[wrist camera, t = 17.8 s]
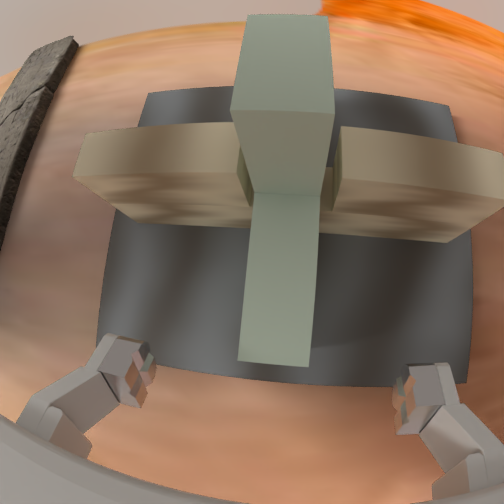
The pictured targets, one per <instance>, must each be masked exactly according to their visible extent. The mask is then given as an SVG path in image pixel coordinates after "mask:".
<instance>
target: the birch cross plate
mask: <svg viewBox="0 0 504 504" xmlns="http://www.w3.org/2000/svg"><path fill="white" fill-rule="evenodd" d="M233 89H234V86H225V87H206V88H192V89H180V90H170V91H161V92H153V93H148V96H147V99H146V102H145V105H144V108H143V111H142V114H141V117H140V120H139V124H138V127H135V128H126V129H117V130H109V131H101V132H94V133H87V134H85V137H84V140H83V143H82V146H81V149H80V152H79V155H78V158H77V162H76V165H75V168H74V171H73V175H72V177H73V178H74V179H75V180H77V181H78V182H80V183H81V184H82V185H84V186H85V187H87V188H88V189H89V190H91V191H92V192H94V193H95V194H97V195H98V196H99V197H101V198H102V199H104V200H105V201H107V202H108V203H109V204H111V205H112V206H114V207H115V208H116V212H115V217H114V222H113V227H112V232H111V237H110V242H109V248H108V254H107V260H106V266H105V272H104V279H103V286H102V294H101V302H100V310H99V319H98V329H97V341H96V348H97V346H98V344H99V343H100V341H101V340H102V338H103V336H104V335H106V334H107V333H111V334H115V335H120V336H124V337H128V338H133V339H137V340H142V341H147V342H148V343H149V345H150V347H151V349H150V351H149V353H150V354H151V355H152V356H153V357H154V358H155V361H156V364H157V365H162V366H167V367H172V368H178V369H183V370H189V371H195V372H201V373H208V374H214V375H221V376H228V377H236V378H244V379H252V380H261V381H271V382H282V383H294V384H308V385H326V386H353V387H393V385H394V383H395V381H396V379H397V378H399V377H400V376H401V369H402V367H403V365H405V364H411V363H444V362H447V363H448V364H449V365H450V368H451V372H452V375H453V379H454V382H455V384H460V383H466V381H467V374H468V365H469V356H470V345H471V332H472V311H473V264H472V243H471V230H470V229H471V228H472V227H474V226H475V225H477V224H479V223H480V222H482V221H483V220H485V219H486V218H488V217H489V216H491V215H492V214H494V213H496V212H497V211H499V210H500V209H502V208H503V207H504V158H503V154H502V153H500V152H496V151H492V150H488V149H484V148H479V147H475V146H470V145H466V144H461V143H458V142H457V137H456V133H455V128H454V124H453V120H452V116H451V112H450V108H449V106H447V105H442V104H438V103H433V102H428V101H423V100H417V99H412V98H406V97H400V96H394V95H387V94H380V93H372V92H364V91H355V90H345V89H334V103H335V117H334V123H333V129H332V135H331V141H330V146H329V152H328V157H327V163H326V168H325V174H324V179H323V184H322V189H321V194H320V215H319V238H318V258H317V274H316V289H315V302H314V315H313V327H312V337H311V348H310V358H309V367H299V366H286V365H274V364H264V363H254V362H245V361H237V360H238V350H239V340H240V330H241V320H242V310H243V300H244V290H245V280H246V270H247V260H248V250H249V241H250V231H251V221H252V211H253V202H254V190H253V186H252V183H251V179H250V176H249V173H248V169H247V166H246V162H245V159H244V156H243V152H242V149H241V146H240V142H239V139H238V136H237V132H236V129H235V126H234V123H233V119H232V116H231V113H230V106H231V100H232V95H233Z"/></svg>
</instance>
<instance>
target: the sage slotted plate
mask: <svg viewBox="0 0 504 504" xmlns="http://www.w3.org/2000/svg"><path fill="white" fill-rule="evenodd" d="M230 113H231V116H232V119H233V123H234V126H235V129H236V132H237V136H238V139H239V142H240V146H241V149H242V152H243V156H244V159H245V162H246V166H247V169H248V173H249V176H250V179H251V183H252V186H253V190H254V202H253V211H252V221H251V231H250V241H249V250H248V260H247V270H246V280H245V290H244V300H243V310H242V320H241V330H240V340H239V350H238V360H237V361H245V362H254V363H264V364H274V365H286V366H299V367H309V358H310V348H311V337H312V327H313V315H314V302H315V289H316V274H317V258H318V238H319V215H320V194H321V189H322V184H323V179H324V174H325V168H326V163H327V157H328V152H329V146H330V141H331V135H332V129H333V123H334V117H335V103H334V84H333V69H332V56H331V44H330V33H329V23H328V16H317V15H294V14H259V15H248V17H247V21H246V26H245V31H244V36H243V41H242V46H241V51H240V57H239V62H238V67H237V73H236V78H235V84H234V89H233V95H232V100H231V106H230Z"/></svg>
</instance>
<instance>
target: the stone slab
mask: <svg viewBox="0 0 504 504" xmlns="http://www.w3.org/2000/svg"><path fill="white" fill-rule="evenodd" d="M78 46H79V44H78V43H77V42H76V41H75V40H74V39H73V36H69V37H66V38H64V39H61V40H58V41H55V42H52V43H50V44H48V45H45V46H43V47H41V48H39V49H37V50H35V51H34V52H33V53H32V54H31V55H30V56H29V57H28V59H27V60H26V61H25V63H24V64H23V66H22V68H21V70H20V71H19V72H18V73H17V75H16V77H15V78H14V80H13V82H12V83H11V85H10V86H9V88H8V89H7V91H6V93H5V94H4V96H3V98H2V99H1V102H0V250H1V246H2V242H3V239H4V236H5V231H6V227H7V224H8V221H9V218H10V214H11V211H12V207H13V203H14V200H15V196H16V193H17V189H18V186H19V183H20V180H21V176H22V173H23V170H24V167H25V164H26V161H27V159H28V156H29V153H30V151H31V149H32V146H33V144H34V141H35V139H36V136H37V133H38V131H39V128H40V125H41V124H42V121H43V119H44V117H45V114H46V111H47V109H48V107H49V105H50V103H51V100H52V98H53V93H54V92H55V90H56V89H57V87H58V84H59V83H60V81H61V79H62V77H63V75H64V73H65V71H66V69H67V67H68V65H69V63H70V62H71V60H72V58H73V56H74V54H75V52H76V50H77V47H78Z"/></svg>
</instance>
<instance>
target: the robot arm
mask: <svg viewBox="0 0 504 504" xmlns="http://www.w3.org/2000/svg"><path fill="white" fill-rule="evenodd" d="M150 349H151V347H150V345H149V343H148V342H147V341H142V340H137V339H133V338H128V337H124V336H120V335H115V334H111V333H107V334H106V335H104V336H103V338H102V340H101V341H100V343H99V344H98V346H97V348H96V349H95V351H94V352H93V354H92V356H91V357H90V359H89V361H88V362H87V364H86V366H85V367H82V366H81V367H79V368H78V369H76V370H74V371H73V372H71V373H69V374H68V375H66V376H64V377H63V378H61V379H59V380H57V381H56V382H54V383H52V384H51V385H49V386H47V387H46V388H44V389H42V390H40V391H39V392H37V393H35V394H34V395H32V396H31V398H30V400H29V401H28V403H27V405H26V406H25V408H24V410H23V411H22V413H21V415H20V417H19V418H18V420H17V422H16V423H14V422H13V421H11V420H9V419H8V418H6V417H4V416H3V415H1V414H0V504H249V503H242V502H235V501H229V500H223V499H217V498H212V497H207V496H202V495H198V494H193V493H189V492H185V491H180V490H177V489H173V488H169V487H165V486H162V485H158V484H155V483H151V482H148V481H145V480H142V479H138V478H135V477H132V476H129V475H126V474H124V473H121V472H118V471H115V470H112V469H110V468H107V467H105V466H102V465H99V464H97V463H95V462H92V461H90V460H87V457H88V455H89V453H90V450H91V448H92V444H91V442H90V441H89V440H88V439H87V438H86V437H85V436H84V435H83V434H84V433H85V432H86V431H87V430H89V429H90V428H91V427H92V426H94V425H95V424H96V423H97V422H99V421H100V420H101V419H102V418H103V417H105V416H106V415H107V414H108V413H110V412H111V411H112V410H113V409H115V408H116V407H117V406H118V405H120V404H119V403H121V404H125V405H129V406H133V407H137V408H141V407H142V405H143V403H144V400H145V398H146V396H147V394H148V392H147V389H146V387H147V386H148V385H150V384H151V383H152V382H153V380H154V377H155V373H156V361H155V358H154V357H153V356H152V355H151V354H150V353H149V351H150ZM392 406H393V407H394V408H395V409H396V410H397V411H398V412H397V413H396V415H395V416H394V424H395V434H396V435H404V434H419V436H420V438H421V439H422V441H423V442H424V443H425V445H426V446H427V448H428V449H429V451H430V452H431V454H432V455H433V456H434V458H435V459H436V461H437V462H438V464H439V465H440V467H441V468H442V470H443V471H444V473H445V474H444V475H443V476H442V477H440V478H439V479H438V480H436V481H435V482H434V483H433V484H432V496H433V500H431V501H425V502H418V503H412V504H504V445H503V444H502V442H501V441H500V440H499V439H498V438H497V437H496V436H495V435H494V434H493V433H492V432H491V431H490V430H489V429H488V428H487V427H486V426H485V425H484V424H483V422H482V421H481V420H480V419H479V418H478V417H477V416H476V415H475V414H474V413H473V412H472V411H471V410H470V409H469V408H468V407H467V406H466V405H465V404H464V403H461V404H460V401H459V397H458V393H457V389H456V386H455V382H454V379H453V375H452V372H451V368H450V365H449V364H448V363H447V362H444V363H411V364H405V365H403V367H402V369H401V376H400V377H399V378H397V379H396V381H395V383H394V385H393V390H392Z"/></svg>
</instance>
